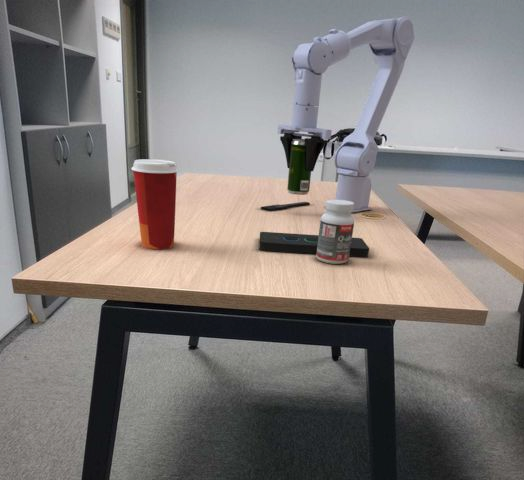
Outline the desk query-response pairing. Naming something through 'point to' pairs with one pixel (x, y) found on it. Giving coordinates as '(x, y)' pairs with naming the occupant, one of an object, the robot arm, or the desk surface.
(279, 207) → the fork
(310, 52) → the robot arm
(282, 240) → the smart home device
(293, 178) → the beer can
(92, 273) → the desk surface
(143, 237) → the paper cup
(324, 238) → the pill bottle
